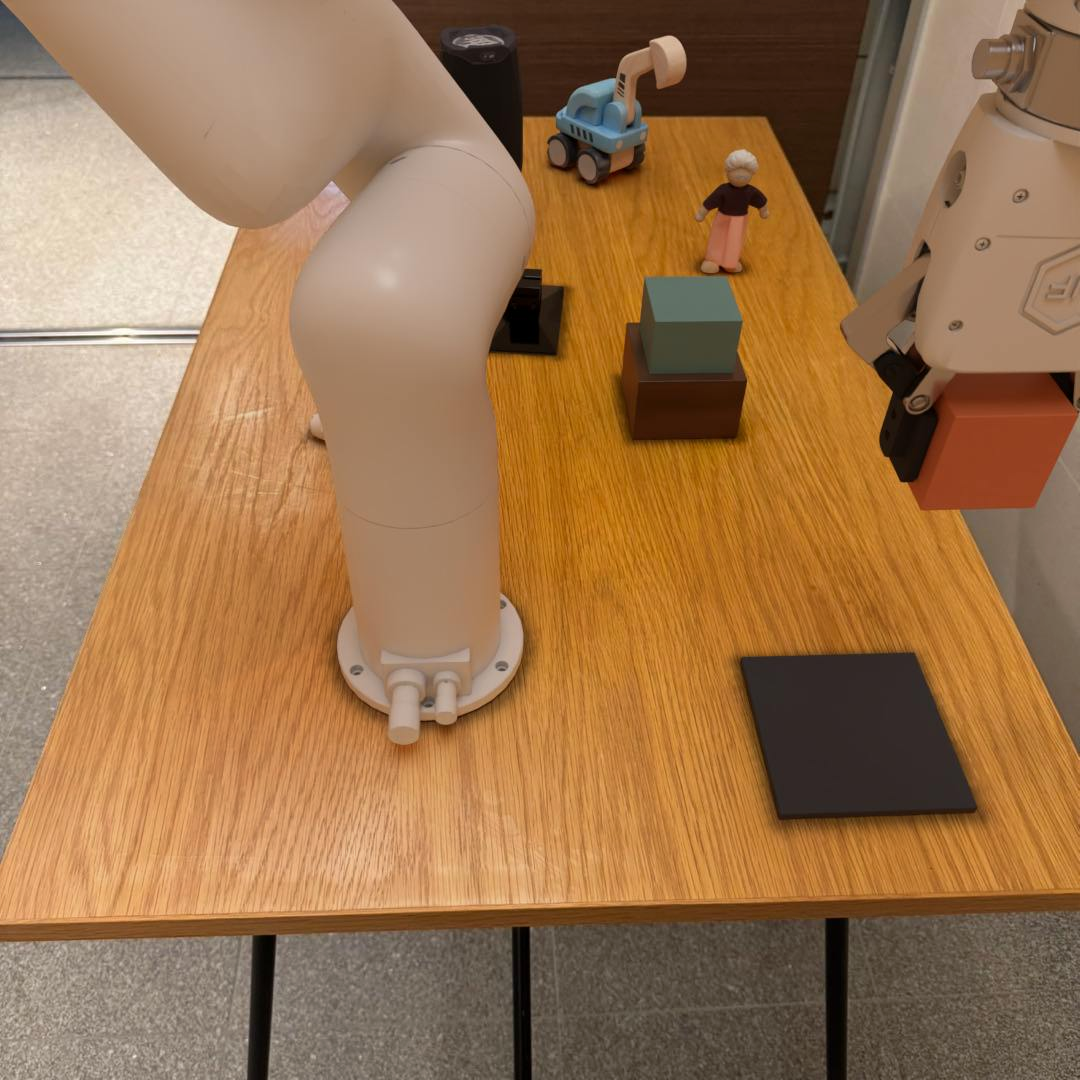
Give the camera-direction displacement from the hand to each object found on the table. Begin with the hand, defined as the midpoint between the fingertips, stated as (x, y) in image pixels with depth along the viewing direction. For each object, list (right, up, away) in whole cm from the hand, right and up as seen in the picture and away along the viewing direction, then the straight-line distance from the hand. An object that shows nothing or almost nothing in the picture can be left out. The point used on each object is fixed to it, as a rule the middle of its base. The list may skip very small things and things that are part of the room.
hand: (962, 459), depth 48 cm
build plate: (-22, +18, +51) cm, 58 cm away
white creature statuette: (-34, +6, +38) cm, 51 cm away
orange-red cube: (0, -1, +1) cm, 1 cm away
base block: (-8, +8, +41) cm, 42 cm away
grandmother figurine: (0, +25, +59) cm, 64 cm away
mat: (-1, -16, +16) cm, 23 cm away
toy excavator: (-12, +41, +75) cm, 86 cm away
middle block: (-8, +12, +36) cm, 39 cm away
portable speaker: (-27, +33, +66) cm, 79 cm away
